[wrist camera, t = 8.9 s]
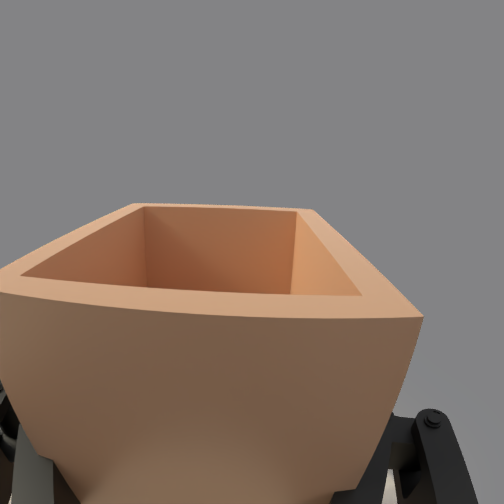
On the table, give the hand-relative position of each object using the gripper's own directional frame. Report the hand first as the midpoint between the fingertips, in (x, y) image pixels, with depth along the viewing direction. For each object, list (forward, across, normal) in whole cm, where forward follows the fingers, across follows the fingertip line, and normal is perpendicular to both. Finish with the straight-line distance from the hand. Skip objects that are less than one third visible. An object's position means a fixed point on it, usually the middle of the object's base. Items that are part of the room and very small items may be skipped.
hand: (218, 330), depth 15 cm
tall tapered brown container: (-5, 0, -8) cm, 9 cm away
